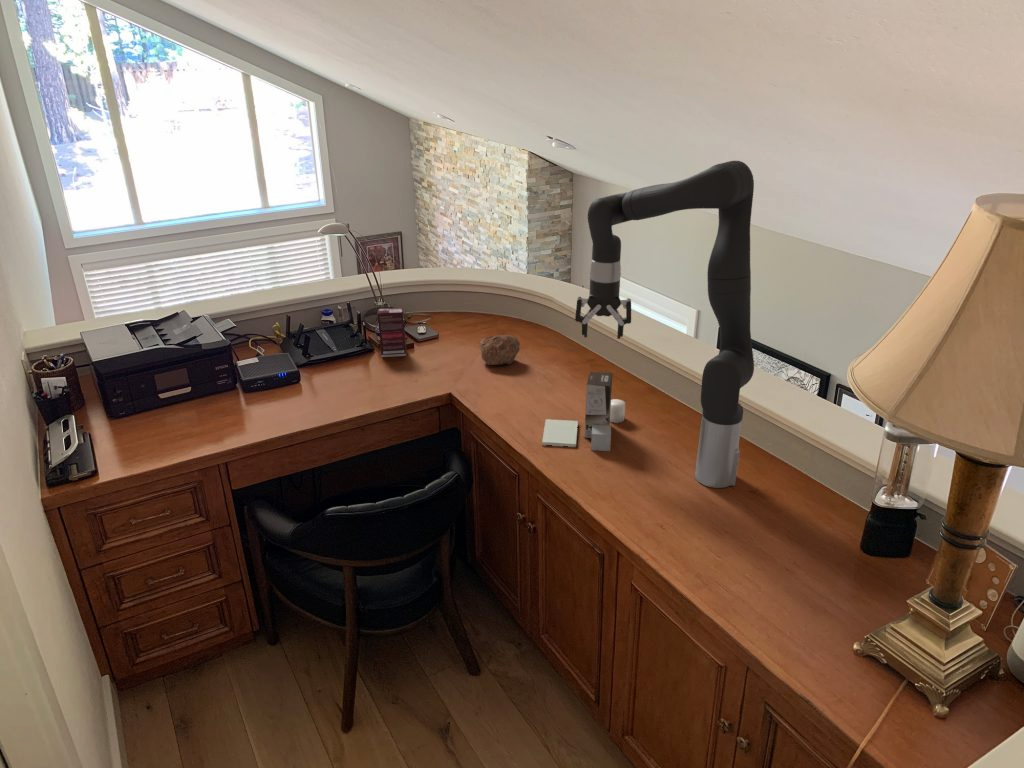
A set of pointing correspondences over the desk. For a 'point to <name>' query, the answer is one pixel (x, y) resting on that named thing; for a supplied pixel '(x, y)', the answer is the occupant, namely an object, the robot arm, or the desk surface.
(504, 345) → the decorative rock
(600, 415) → the coffee box
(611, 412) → the white rounded cylinder
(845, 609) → the desk surface
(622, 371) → the desk surface
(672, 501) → the desk surface
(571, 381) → the desk surface
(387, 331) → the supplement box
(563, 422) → the sage board
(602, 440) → the grey block
